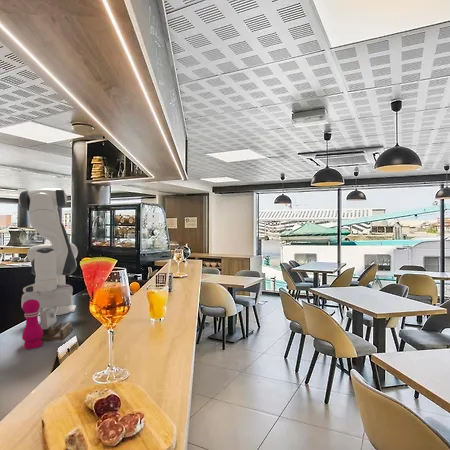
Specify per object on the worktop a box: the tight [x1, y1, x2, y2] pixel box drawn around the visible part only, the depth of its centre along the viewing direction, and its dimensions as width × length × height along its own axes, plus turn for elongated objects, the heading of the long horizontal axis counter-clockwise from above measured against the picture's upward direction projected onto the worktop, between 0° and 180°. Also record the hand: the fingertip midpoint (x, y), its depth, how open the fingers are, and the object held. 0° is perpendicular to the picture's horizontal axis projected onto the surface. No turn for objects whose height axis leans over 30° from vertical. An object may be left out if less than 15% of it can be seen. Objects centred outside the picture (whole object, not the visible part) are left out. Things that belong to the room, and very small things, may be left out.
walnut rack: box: [40, 321, 74, 342], centre depth 148 cm, size 14×15×4 cm
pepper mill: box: [21, 296, 43, 350], centre depth 135 cm, size 7×7×20 cm
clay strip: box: [39, 307, 58, 329], centre depth 148 cm, size 12×2×7 cm, turn 9°
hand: (48, 317), depth 148 cm, fingers closed on clay strip, 2 cm apart
